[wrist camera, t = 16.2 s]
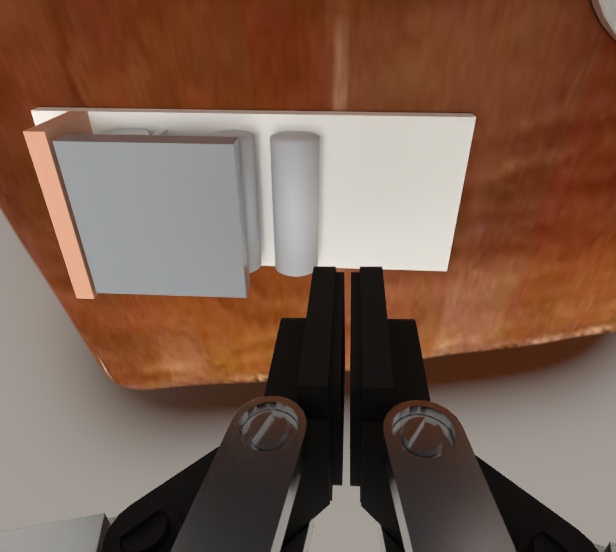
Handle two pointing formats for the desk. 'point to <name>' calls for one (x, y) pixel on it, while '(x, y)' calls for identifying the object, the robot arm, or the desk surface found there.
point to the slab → (158, 212)
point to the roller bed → (354, 176)
